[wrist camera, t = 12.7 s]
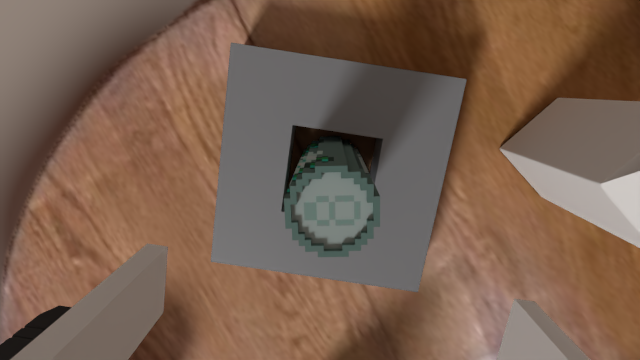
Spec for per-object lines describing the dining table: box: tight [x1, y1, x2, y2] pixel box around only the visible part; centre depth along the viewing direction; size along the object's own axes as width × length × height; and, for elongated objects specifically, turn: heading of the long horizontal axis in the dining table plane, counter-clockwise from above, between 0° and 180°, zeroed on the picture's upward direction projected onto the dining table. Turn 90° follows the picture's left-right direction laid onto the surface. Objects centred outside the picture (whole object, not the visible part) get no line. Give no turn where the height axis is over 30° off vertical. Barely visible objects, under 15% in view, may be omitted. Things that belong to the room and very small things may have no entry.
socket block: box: [211, 43, 467, 292], centre depth 37 cm, size 20×20×4 cm
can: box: [284, 136, 380, 257], centre depth 32 cm, size 6×6×15 cm
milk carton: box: [500, 98, 640, 248], centre depth 30 cm, size 7×7×19 cm
